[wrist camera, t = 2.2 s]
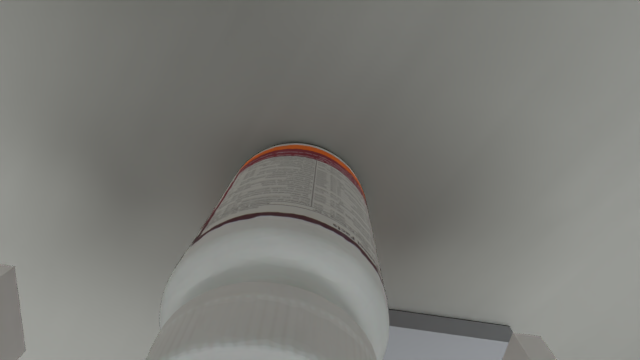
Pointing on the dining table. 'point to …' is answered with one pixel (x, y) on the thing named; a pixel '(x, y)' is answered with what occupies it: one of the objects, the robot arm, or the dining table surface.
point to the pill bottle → (280, 269)
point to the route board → (443, 338)
